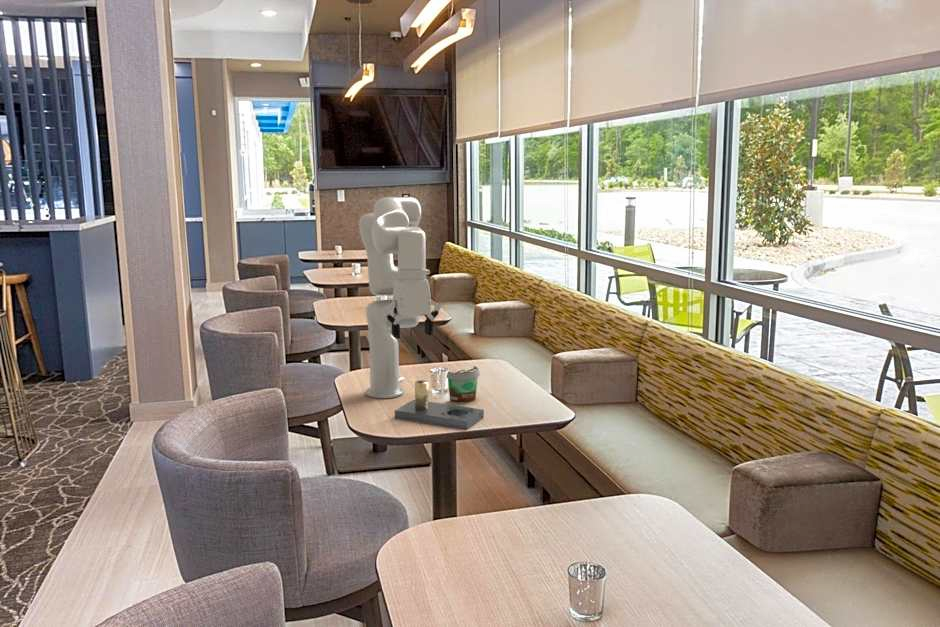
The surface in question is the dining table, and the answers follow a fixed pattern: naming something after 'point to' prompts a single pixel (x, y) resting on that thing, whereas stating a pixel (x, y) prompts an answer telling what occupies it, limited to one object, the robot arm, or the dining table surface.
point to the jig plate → (441, 414)
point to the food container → (463, 385)
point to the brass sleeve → (421, 394)
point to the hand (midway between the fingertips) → (412, 336)
